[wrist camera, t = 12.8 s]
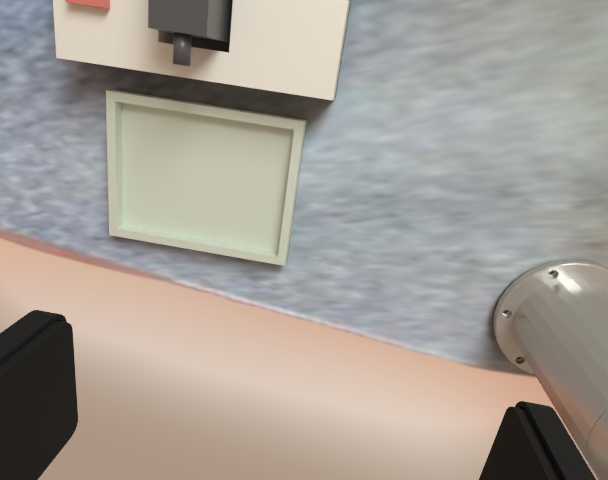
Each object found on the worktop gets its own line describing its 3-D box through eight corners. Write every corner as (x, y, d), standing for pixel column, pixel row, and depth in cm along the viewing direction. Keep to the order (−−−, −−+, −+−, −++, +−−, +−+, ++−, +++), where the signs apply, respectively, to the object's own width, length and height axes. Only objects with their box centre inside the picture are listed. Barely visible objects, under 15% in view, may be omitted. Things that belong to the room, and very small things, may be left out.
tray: (307, 119, 39) (304, 121, 37) (287, 258, 43) (284, 266, 42) (116, 89, 39) (105, 90, 38) (118, 229, 44) (109, 235, 43)
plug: (241, -42, 33) (212, -71, 26) (232, 70, 36) (204, 69, 29) (189, -49, 33) (149, -80, 27) (185, 63, 36) (147, 59, 30)
